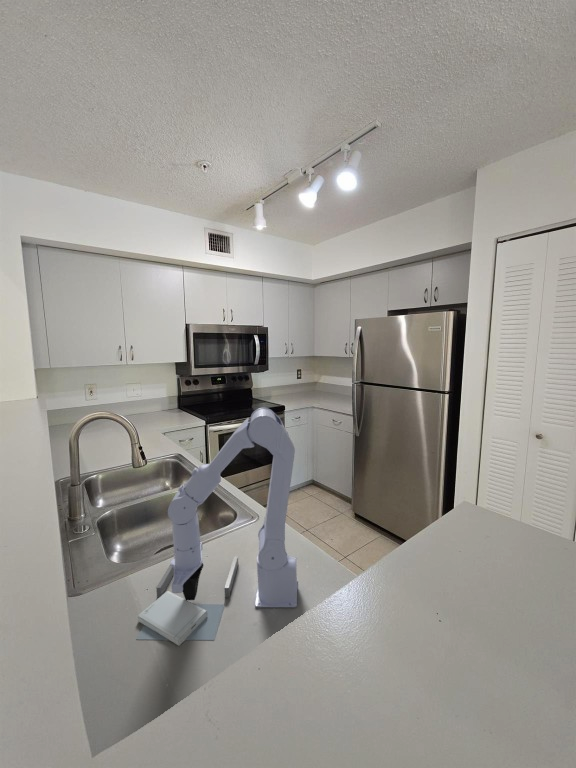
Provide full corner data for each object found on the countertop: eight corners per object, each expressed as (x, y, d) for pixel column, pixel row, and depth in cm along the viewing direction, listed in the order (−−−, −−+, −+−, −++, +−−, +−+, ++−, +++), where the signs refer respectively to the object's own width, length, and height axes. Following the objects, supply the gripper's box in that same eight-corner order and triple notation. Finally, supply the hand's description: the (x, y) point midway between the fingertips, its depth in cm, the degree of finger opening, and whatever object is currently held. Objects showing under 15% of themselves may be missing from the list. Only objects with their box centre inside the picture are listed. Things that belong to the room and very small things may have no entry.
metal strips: (238, 564, 87) (238, 556, 87) (229, 597, 76) (228, 587, 76) (175, 564, 88) (175, 556, 88) (157, 597, 76) (156, 587, 76)
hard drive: (137, 615, 70) (178, 639, 63) (168, 589, 77) (207, 609, 71) (138, 622, 70) (178, 646, 64) (168, 596, 77) (207, 616, 71)
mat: (224, 605, 74) (224, 604, 74) (214, 641, 65) (214, 640, 65) (155, 605, 74) (155, 604, 74) (136, 640, 66) (136, 639, 66)
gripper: (181, 525, 80) (184, 575, 82) (155, 564, 66) (160, 625, 68) (209, 525, 80) (212, 575, 82) (189, 564, 66) (193, 625, 67)
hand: (190, 598), depth 75 cm, fingers closed
